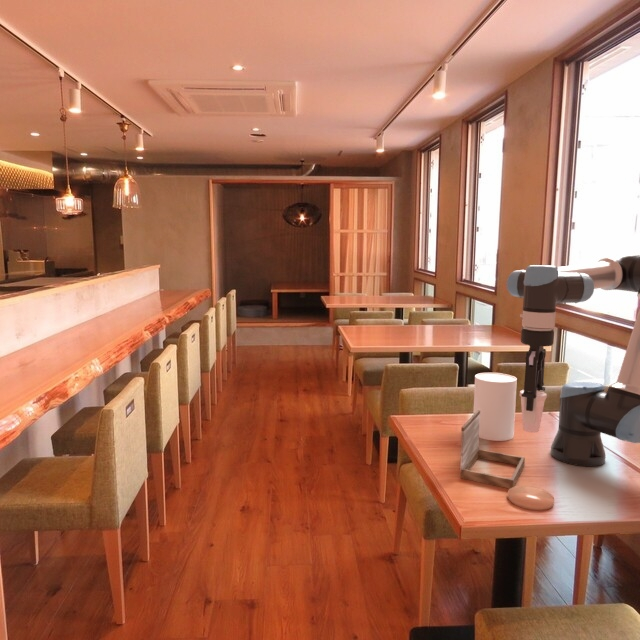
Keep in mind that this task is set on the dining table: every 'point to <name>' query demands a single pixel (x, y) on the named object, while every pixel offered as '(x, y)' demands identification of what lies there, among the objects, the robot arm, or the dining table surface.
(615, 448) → the dining table surface
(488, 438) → the canister
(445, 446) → the dining table surface
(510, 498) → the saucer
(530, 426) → the smoothie
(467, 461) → the box
